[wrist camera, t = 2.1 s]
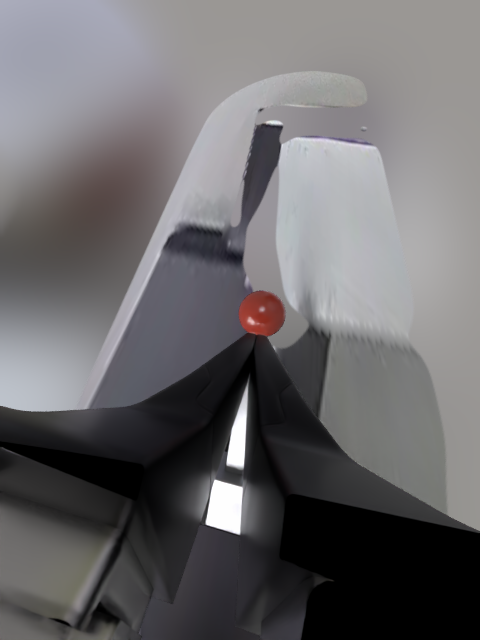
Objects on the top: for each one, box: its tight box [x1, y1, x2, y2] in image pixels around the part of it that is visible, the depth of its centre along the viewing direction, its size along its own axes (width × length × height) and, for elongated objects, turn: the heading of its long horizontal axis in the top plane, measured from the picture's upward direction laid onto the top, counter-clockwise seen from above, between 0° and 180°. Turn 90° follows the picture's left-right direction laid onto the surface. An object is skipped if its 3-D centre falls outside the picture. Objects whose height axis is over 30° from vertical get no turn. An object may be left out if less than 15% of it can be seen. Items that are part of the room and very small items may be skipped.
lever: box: [205, 291, 286, 535], centre depth 12 cm, size 14×3×3 cm, turn 168°
